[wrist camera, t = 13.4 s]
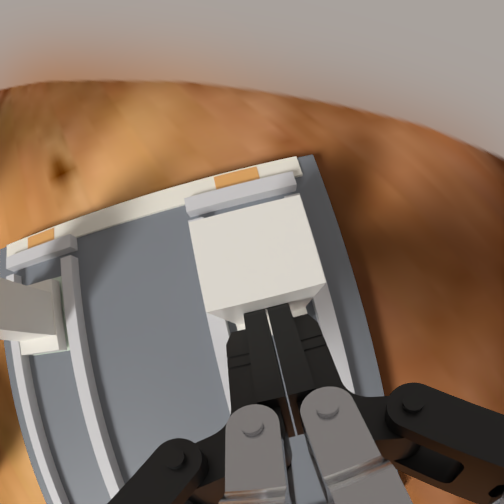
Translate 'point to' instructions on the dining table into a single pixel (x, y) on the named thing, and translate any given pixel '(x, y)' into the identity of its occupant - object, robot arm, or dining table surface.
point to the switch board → (160, 332)
